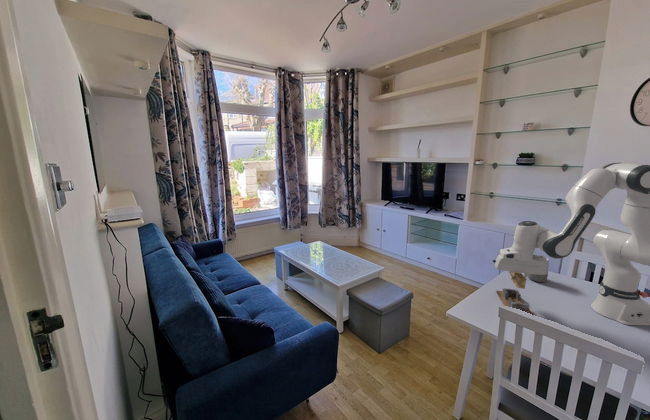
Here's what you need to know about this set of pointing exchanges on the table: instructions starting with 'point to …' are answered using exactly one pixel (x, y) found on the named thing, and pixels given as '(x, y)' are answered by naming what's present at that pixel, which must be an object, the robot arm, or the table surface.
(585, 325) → the table surface
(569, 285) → the table surface
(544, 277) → the smart speaker
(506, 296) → the cap board
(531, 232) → the robot arm
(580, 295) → the table surface
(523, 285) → the golden brown block
